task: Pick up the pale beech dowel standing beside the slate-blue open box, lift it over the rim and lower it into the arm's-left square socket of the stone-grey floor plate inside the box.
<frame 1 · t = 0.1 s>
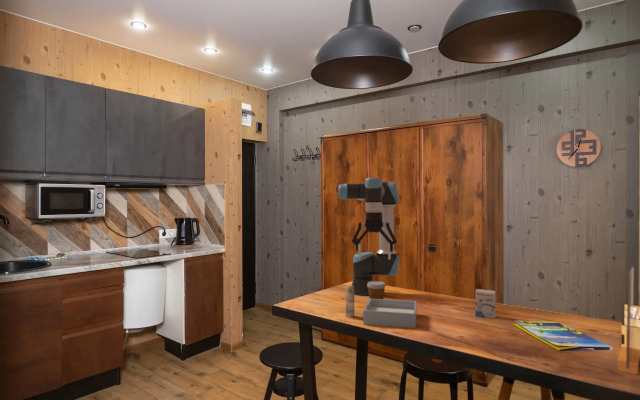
hand: (374, 258, 172), 28 cm above the table, fingers open, 13 cm apart
beech dowel: (350, 315, 179), on the table
socket box: (391, 318, 174), on the table
disposable coffee cup: (376, 306, 194), on the table
ink box: (485, 316, 176), on the table
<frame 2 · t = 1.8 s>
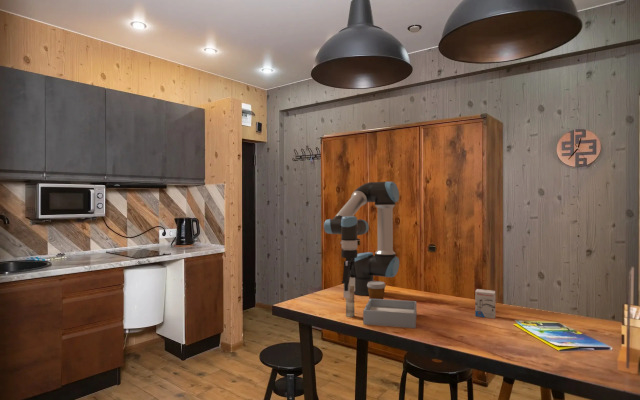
hand: (349, 294, 178), 10 cm above the table, fingers open, 13 cm apart
nothing on the table moved.
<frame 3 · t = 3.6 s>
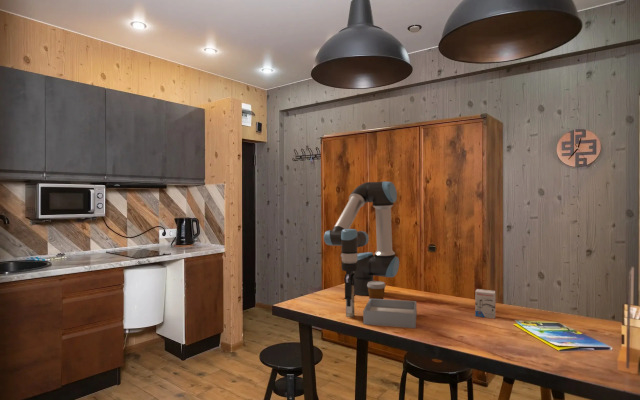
hand: (350, 311, 179), 2 cm above the table, fingers closed on beech dowel, 4 cm apart
beech dowel: (350, 315, 179), on the table, touching gripper
everything else where it was.
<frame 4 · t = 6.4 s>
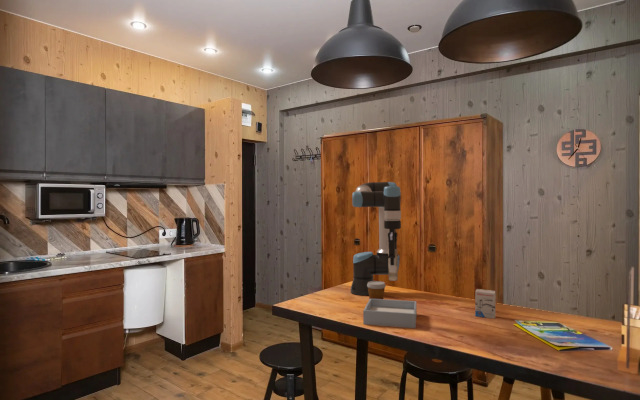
hand: (393, 271, 173), 22 cm above the table, fingers closed on beech dowel, 4 cm apart
beech dowel: (393, 279, 173), point 18 cm above the table, touching gripper
everything else where it was.
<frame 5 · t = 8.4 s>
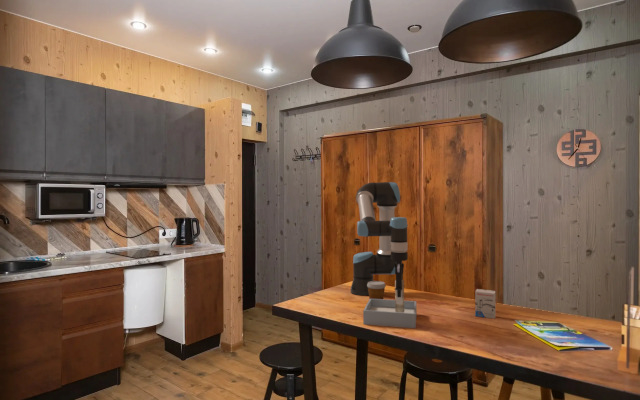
hand: (399, 302, 172), 8 cm above the table, fingers closed on beech dowel, 4 cm apart
beech dowel: (399, 311, 172), point 4 cm above the table, touching gripper
everything else where it was.
when the fingers open (4 cm above the table, at t = 9.5 s): beech dowel stays where it is, resting in socket box.
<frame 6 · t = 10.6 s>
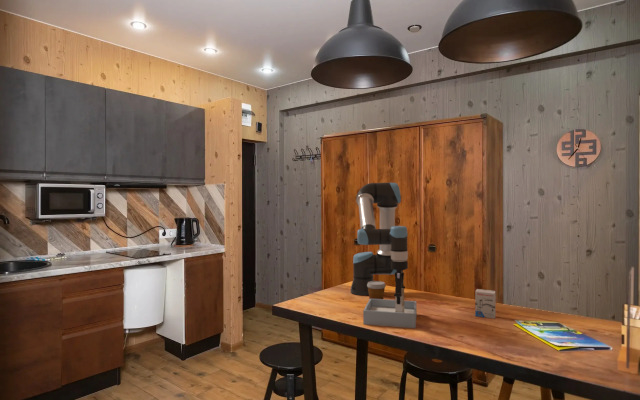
hand: (399, 306, 172), 6 cm above the table, fingers open, 13 cm apart
beech dowel: (400, 319, 172), resting in socket box
everything else where it was.
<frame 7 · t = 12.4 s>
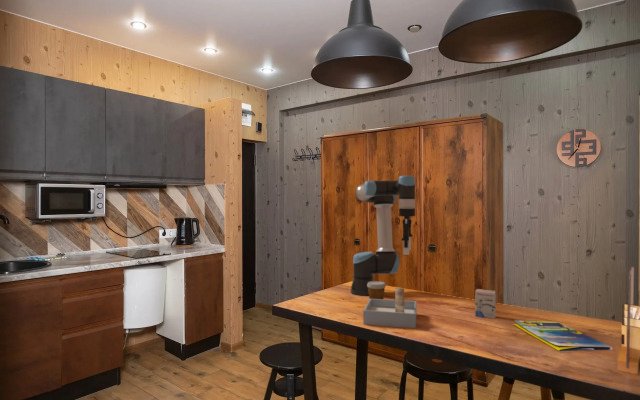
hand: (407, 252, 182), 29 cm above the table, fingers open, 13 cm apart
nothing on the table moved.
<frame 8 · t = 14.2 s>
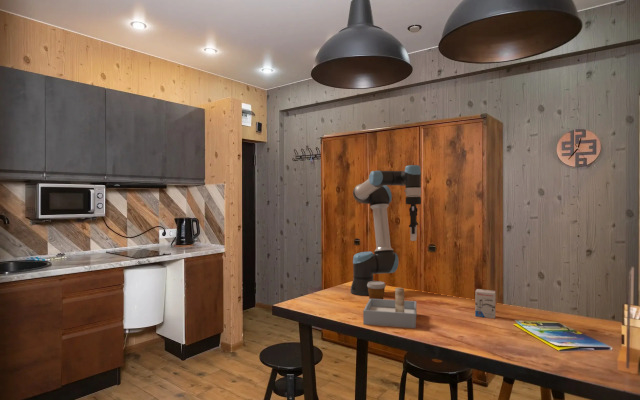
hand: (413, 239, 188), 35 cm above the table, fingers open, 13 cm apart
nothing on the table moved.
at the end: beech dowel 0.1 cm from the target spot on the socket box, point 0.0 cm above the socket box's base; beech dowel tilted 0°; the gripper is holding nothing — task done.
